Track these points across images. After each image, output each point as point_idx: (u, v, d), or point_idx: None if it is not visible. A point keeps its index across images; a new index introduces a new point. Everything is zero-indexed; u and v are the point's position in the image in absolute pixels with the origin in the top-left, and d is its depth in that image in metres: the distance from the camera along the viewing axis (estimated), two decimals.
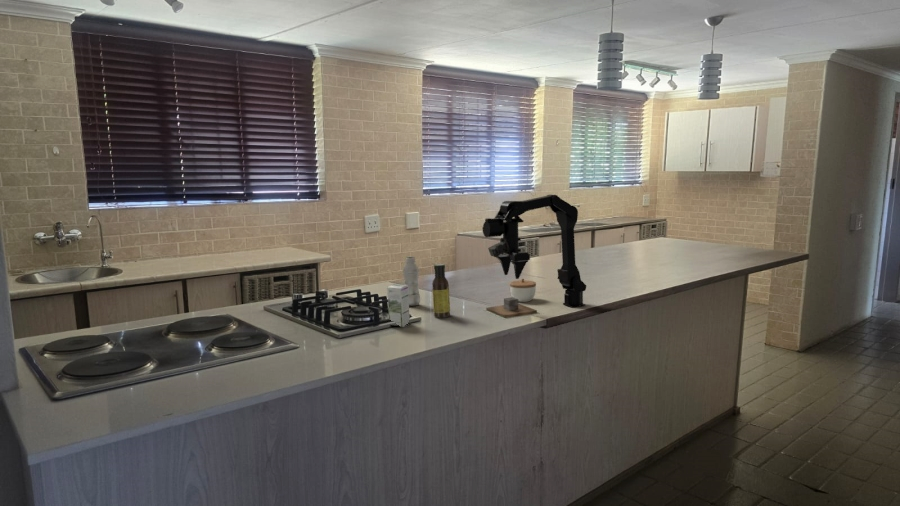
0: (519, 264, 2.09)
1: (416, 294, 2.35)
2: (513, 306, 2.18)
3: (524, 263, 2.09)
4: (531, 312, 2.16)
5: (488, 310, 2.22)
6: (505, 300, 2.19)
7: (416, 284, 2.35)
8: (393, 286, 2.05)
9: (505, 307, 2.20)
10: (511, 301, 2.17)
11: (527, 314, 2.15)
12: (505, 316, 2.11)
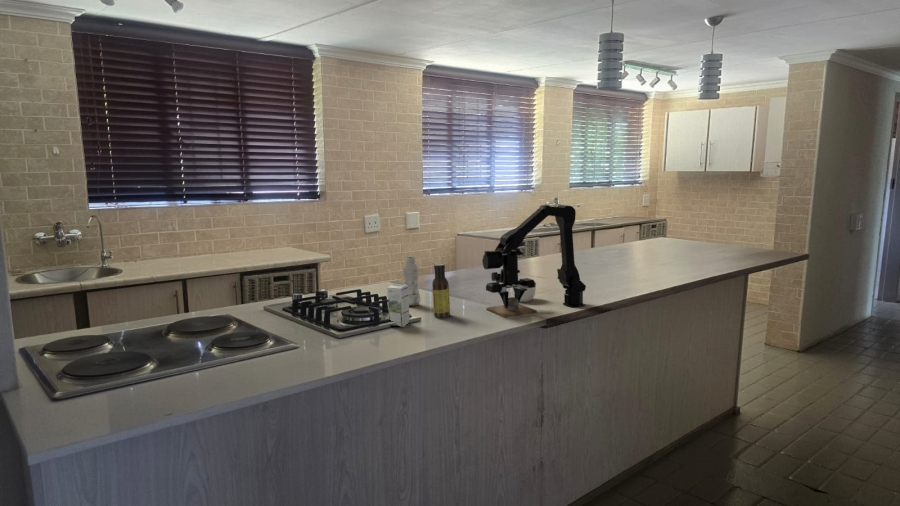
0: (503, 294, 2.17)
1: (416, 294, 2.35)
2: (513, 306, 2.18)
3: (504, 294, 2.16)
4: (531, 312, 2.16)
5: (488, 310, 2.22)
6: None
7: (416, 284, 2.35)
8: (393, 286, 2.05)
9: None
10: (511, 301, 2.17)
11: (527, 314, 2.15)
12: (505, 316, 2.11)
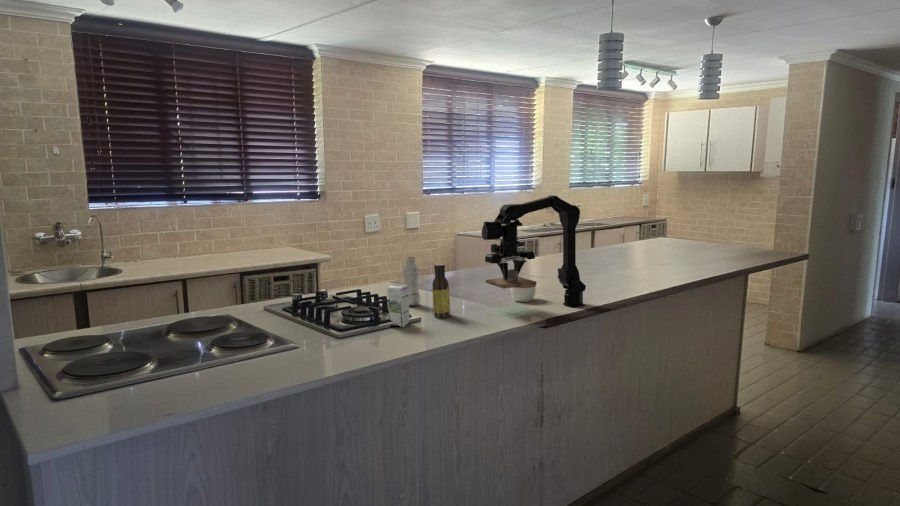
0: (503, 266, 2.16)
1: (416, 294, 2.35)
2: (512, 278, 2.16)
3: (503, 266, 2.14)
4: (531, 283, 2.14)
5: (487, 282, 2.20)
6: None
7: (416, 284, 2.35)
8: (393, 286, 2.05)
9: (504, 279, 2.18)
10: (510, 272, 2.16)
11: (527, 314, 2.15)
12: (504, 287, 2.10)
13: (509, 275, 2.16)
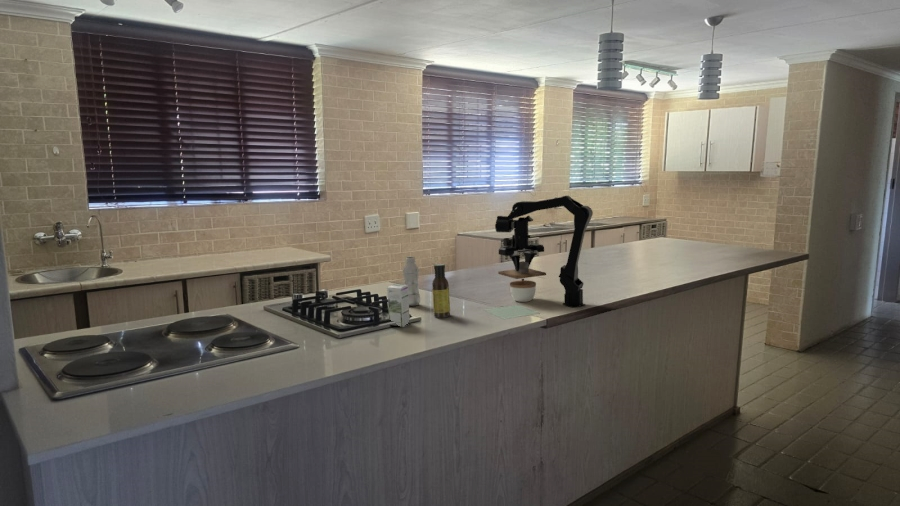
0: (515, 258, 2.33)
1: (416, 294, 2.35)
2: (523, 269, 2.34)
3: (515, 258, 2.31)
4: (541, 274, 2.32)
5: (500, 273, 2.38)
6: None
7: (416, 284, 2.35)
8: (393, 286, 2.05)
9: None
10: (522, 264, 2.33)
11: (527, 314, 2.15)
12: (517, 277, 2.27)
13: (521, 267, 2.33)
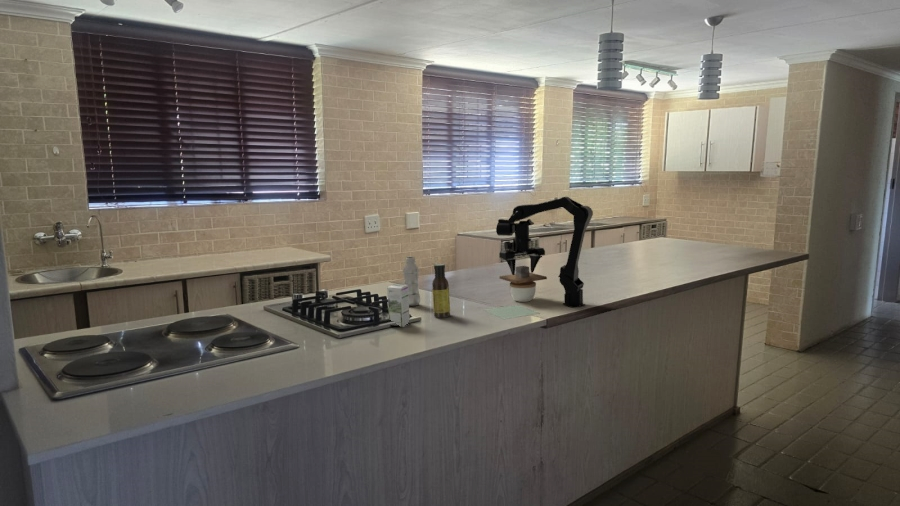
0: (511, 262, 2.33)
1: (416, 294, 2.35)
2: (524, 274, 2.35)
3: (511, 262, 2.32)
4: (541, 278, 2.33)
5: (501, 278, 2.39)
6: (517, 268, 2.36)
7: (416, 284, 2.35)
8: (393, 286, 2.05)
9: (517, 275, 2.37)
10: (522, 269, 2.34)
11: (527, 314, 2.15)
12: (517, 282, 2.28)
13: (521, 271, 2.34)
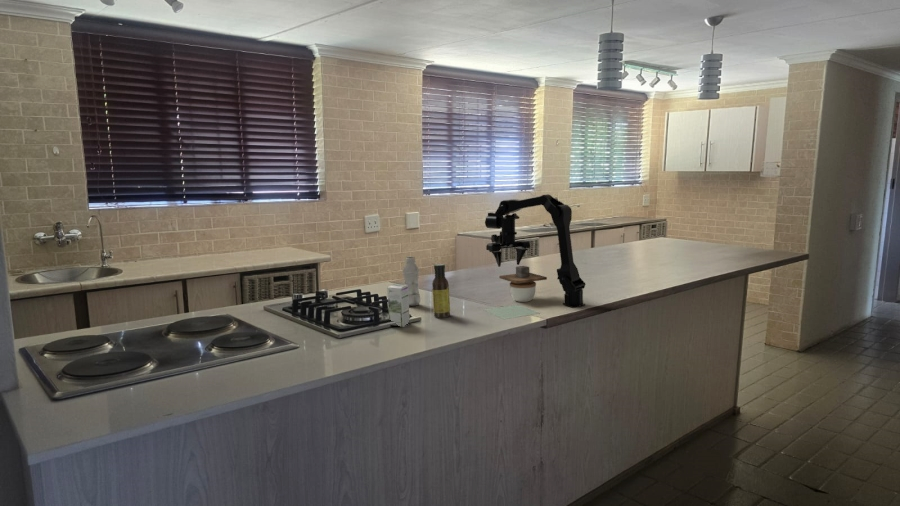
0: (497, 254, 2.43)
1: (416, 294, 2.35)
2: (524, 274, 2.35)
3: (497, 254, 2.41)
4: (541, 278, 2.33)
5: (501, 278, 2.39)
6: (517, 268, 2.36)
7: (416, 284, 2.35)
8: (393, 286, 2.05)
9: (517, 275, 2.37)
10: (523, 269, 2.34)
11: (527, 314, 2.15)
12: (518, 282, 2.28)
13: (521, 271, 2.34)
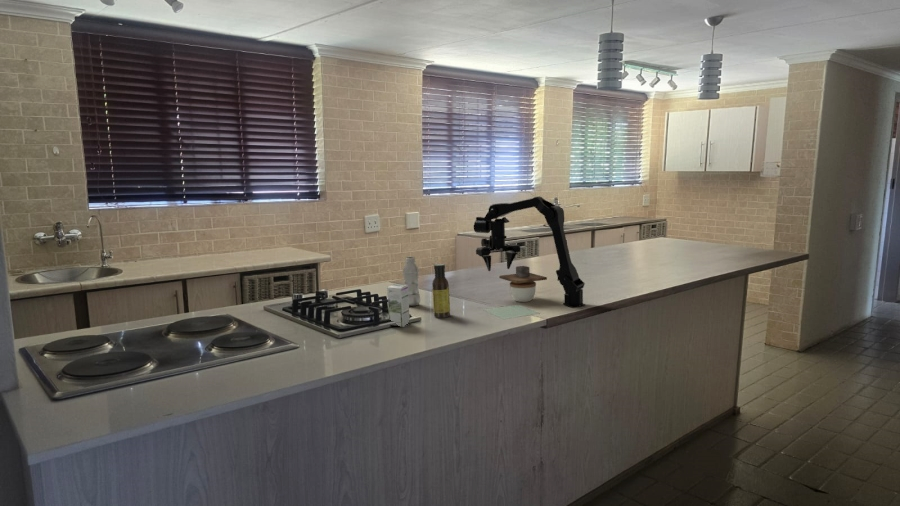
0: (487, 258, 2.41)
1: (416, 294, 2.35)
2: (524, 274, 2.35)
3: (487, 258, 2.39)
4: (541, 279, 2.33)
5: (501, 278, 2.39)
6: (517, 268, 2.36)
7: (416, 284, 2.35)
8: (393, 286, 2.05)
9: (517, 275, 2.37)
10: (523, 269, 2.34)
11: (527, 314, 2.15)
12: (518, 281, 2.28)
13: (521, 271, 2.34)
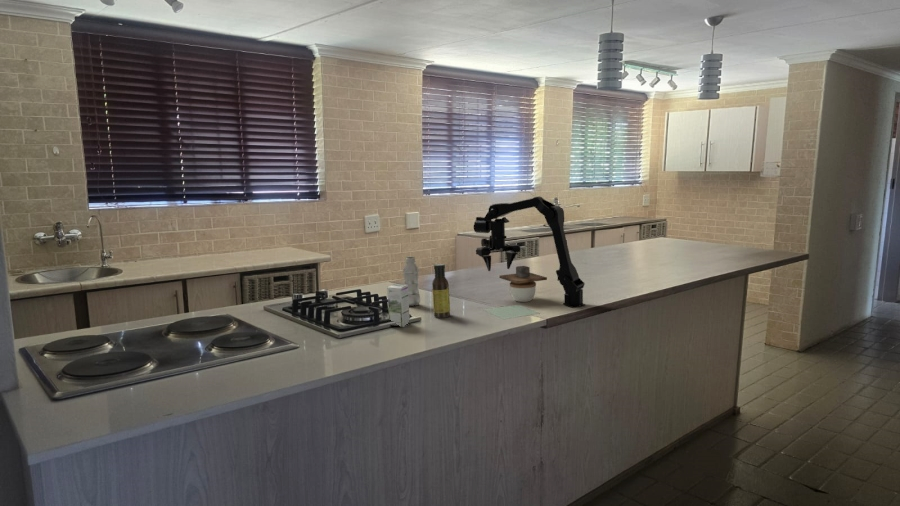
0: (487, 258, 2.41)
1: (416, 294, 2.35)
2: (524, 274, 2.35)
3: (487, 258, 2.39)
4: (541, 279, 2.33)
5: (501, 278, 2.39)
6: (517, 268, 2.36)
7: (416, 284, 2.35)
8: (393, 286, 2.05)
9: (517, 275, 2.37)
10: (523, 269, 2.34)
11: (527, 314, 2.15)
12: (518, 282, 2.28)
13: (521, 271, 2.34)
